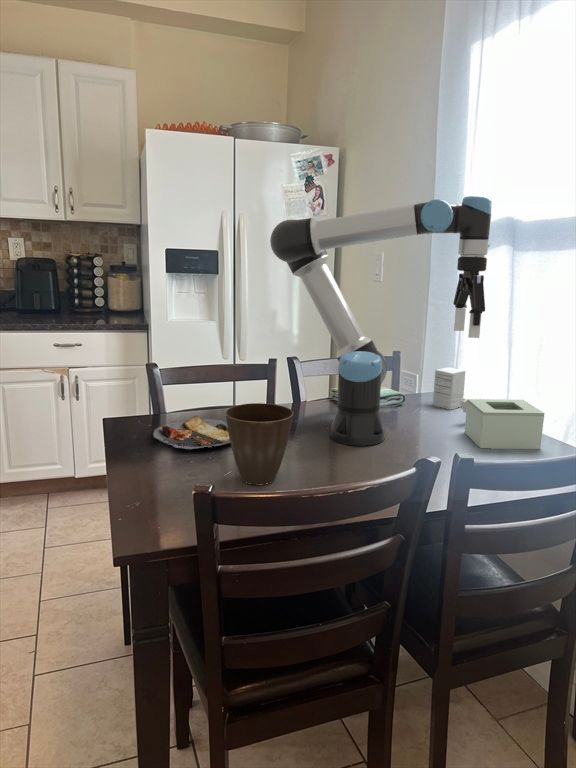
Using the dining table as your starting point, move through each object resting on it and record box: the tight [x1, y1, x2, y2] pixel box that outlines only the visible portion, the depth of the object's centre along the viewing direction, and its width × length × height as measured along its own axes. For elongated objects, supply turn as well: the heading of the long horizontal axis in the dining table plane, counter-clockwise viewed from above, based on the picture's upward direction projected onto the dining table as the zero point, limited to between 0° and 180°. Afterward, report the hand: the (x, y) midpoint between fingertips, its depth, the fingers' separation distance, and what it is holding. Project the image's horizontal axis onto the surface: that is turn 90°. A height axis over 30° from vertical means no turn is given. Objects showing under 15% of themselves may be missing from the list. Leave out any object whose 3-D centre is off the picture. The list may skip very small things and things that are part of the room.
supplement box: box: [432, 366, 466, 411], centre depth 193 cm, size 7×7×13 cm
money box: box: [464, 398, 545, 450], centre depth 159 cm, size 16×14×10 cm
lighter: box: [460, 398, 468, 414], centre depth 174 cm, size 7×2×8 cm, turn 118°
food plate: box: [152, 415, 231, 450], centre depth 158 cm, size 25×23×4 cm
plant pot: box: [225, 402, 294, 484], centre depth 128 cm, size 15×15×16 cm
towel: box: [329, 385, 407, 409], centre depth 199 cm, size 18×21×5 cm
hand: (466, 334), depth 160 cm, fingers open, 13 cm apart
